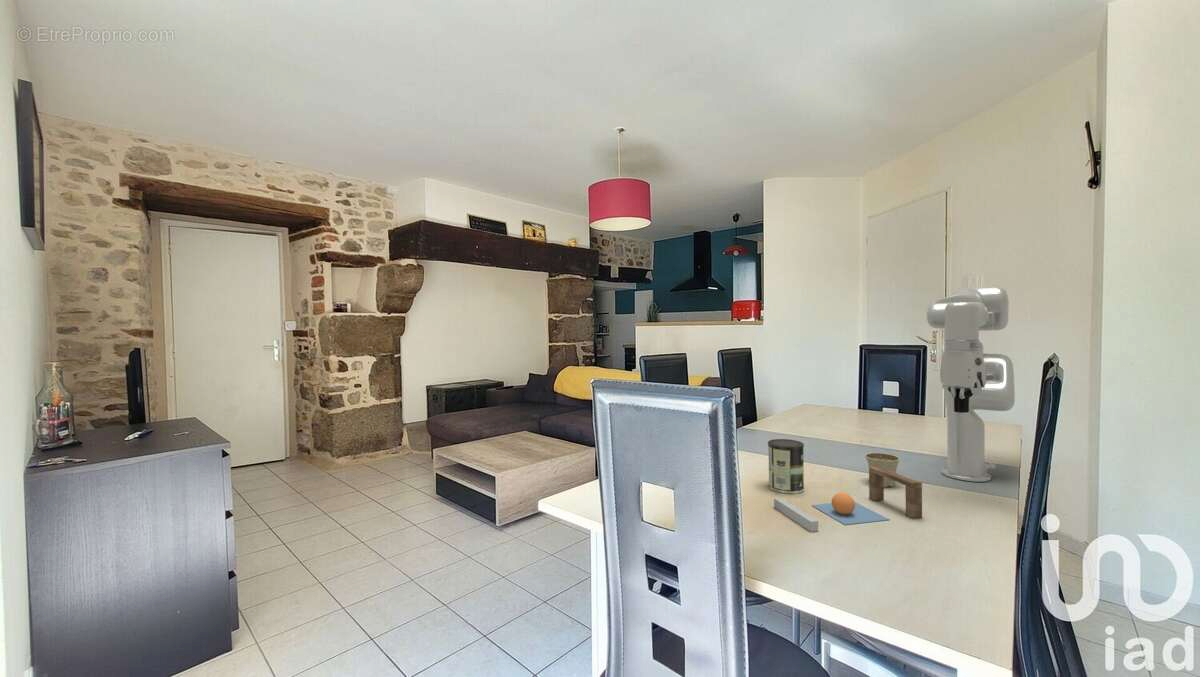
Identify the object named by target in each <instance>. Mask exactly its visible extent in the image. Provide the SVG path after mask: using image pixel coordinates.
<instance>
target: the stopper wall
mask: <svg viewBox="0 0 1200 677" xmlns="http://www.w3.org/2000/svg"><path fill="white" fill-rule="evenodd" d="M773 508H775V509H776V510H778V512H780V513H782V514H783V515H784V516H787V517H788V518H790V519H791V520H792V521H794V522H795V523H797V524H798V525H800V526H801V527H803V528H805V529H806V530H808V532H810V533H813V532H819V520H817V519H816V518H814V517H812V516H811V515H809V514H807V513H806V512H805V511H803V510H801V509H800V508H799V507H797V506H795V505H793V504H791V503H790V502H789V501H787V500H785V499H784V498H782V497H774V498H773Z"/></svg>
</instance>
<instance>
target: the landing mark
mask: <svg viewBox="0 0 1200 677" xmlns="http://www.w3.org/2000/svg"><path fill="white" fill-rule="evenodd" d="M854 502H855V509H854V511H853V512H852V513H850V514H848V515H842V514H839V513H838V512H836V511H835V510H834V508H833V506H832V502H830V503H829V502H828V503H819V504H811V506H812V507H813V508H815V509H816V510H818V511H820V512H822V513H823V514H825V515H827V516H828V517H830V518H831V519H833V520H835V521H837V522H839V523H841V524H842V525H844V526H849V525H850V526H851V525H857V524H858V525H859V524H865V523H866V524H867V523H876V522H884V521H890V518H888V517H886V516H883V515H882V514H880V513H878V512H876V511H874V510H871V509H870V508H868V507H865V506H863V505H861V504H860V503H858V502H856V501H854Z"/></svg>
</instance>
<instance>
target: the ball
mask: <svg viewBox="0 0 1200 677" xmlns="http://www.w3.org/2000/svg"><path fill="white" fill-rule="evenodd" d="M855 502H856V501H855V500H854V498H853V497H852V496H851V495H850V494H848V493H846V492H838V493H836V494H834V495H833V497H832V499H831V503H832V506H833V508H834V510H835V511H836V512H838V513H839V514H842V515H848V514H850V513H852V512H853V511H854V509H855Z"/></svg>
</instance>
